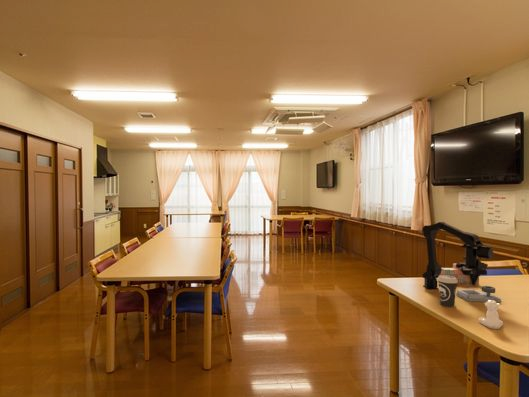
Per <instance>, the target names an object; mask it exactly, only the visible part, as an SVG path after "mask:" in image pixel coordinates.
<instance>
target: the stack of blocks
mask: <svg viewBox="0 0 529 397" xmlns="http://www.w3.org/2000/svg"><path fill="white" fill-rule="evenodd" d="M456 264H457V263H452V267H441V270H442V271H441V274H440V275H448V276H453V277H456V279H457V281H458V283H462V285H464V284H463V274H462V272H461V270H460V269H461V267H460V268H457V267H456ZM471 273H472V272H471ZM440 275H439V276H440Z"/></svg>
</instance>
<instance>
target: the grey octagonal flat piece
mask: <svg viewBox="0 0 529 397" xmlns="http://www.w3.org/2000/svg"><path fill="white" fill-rule="evenodd" d="M481 292H482V293H490V294H495V293H496V287H494V286H490V285H482V286H481Z"/></svg>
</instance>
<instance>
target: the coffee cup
mask: <svg viewBox="0 0 529 397" xmlns="http://www.w3.org/2000/svg"><path fill="white" fill-rule="evenodd" d="M457 283H458V281H457V279H456V277H453V276H448V275H439V276H438V278H437V284H438V294H439V303H440V306H443V307H446V308H447V307H448V308H454V307H455V303H456V302H455V301H456V293H457Z"/></svg>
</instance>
